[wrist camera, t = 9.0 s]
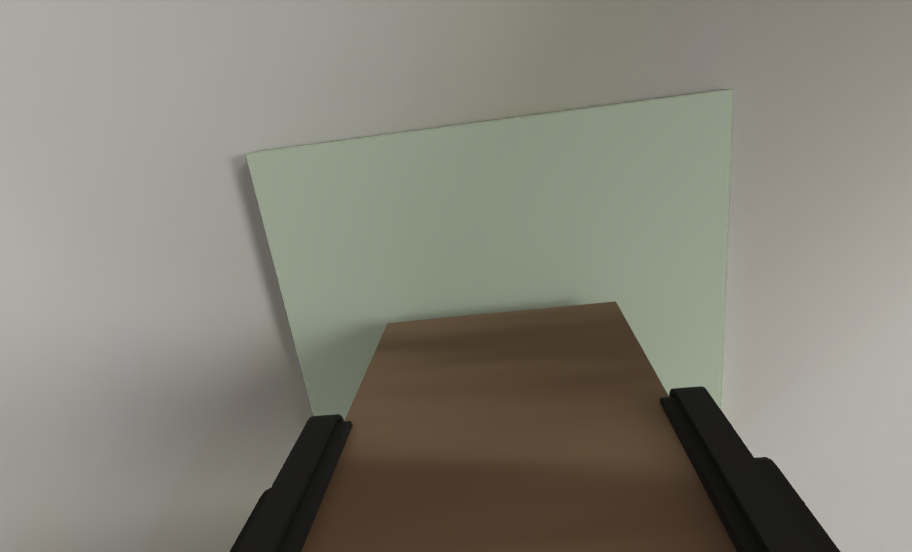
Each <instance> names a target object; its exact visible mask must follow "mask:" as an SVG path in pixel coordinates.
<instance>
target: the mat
mask: <svg viewBox="0 0 912 552" xmlns="http://www.w3.org/2000/svg"><path fill="white" fill-rule="evenodd" d="M732 108H733V89H722V90H715V91H707V92H700V93H692V94H685V95H677V96H670V97H662V98H655V99H647V100H640V101H632V102H625V103H617V104H610V105H602V106H595V107H587V108H579V109H572V110H564V111H557V112H549V113H542V114H534V115H527V116H519V117H512V118H504V119H497V120H489V121H482V122H474V123H467V124H459V125H452V126H444V127H437V128H429V129H422V130H414V131H406V132H399V133H391V134H384V135H376V136H369V137H361V138H354V139H346V140H339V141H331V142H324V143H316V144H309V145H301V146H294V147H286V148H279V149H271V150H264V151H256V152H251V153H248V154H245V155H246V159H247V163H248V166H249V170H250V174H251V178H252V182H253V186H254V190H255V193H256V197H257V201H258V205H259V209H260V213H261V217H262V221H263V224H264V228H265V232H266V236H267V240H268V244H269V248H270V252H271V255H272V259H273V263H274V267H275V271H276V275H277V279H278V282H279V286H280V290H281V294H282V298H283V302H284V306H285V310H286V313H287V317H288V321H289V325H290V329H291V333H292V337H293V341H294V344H295V348H296V352H297V356H298V360H299V364H300V368H301V371H302V375H303V379H304V383H305V387H306V391H307V395H308V399H309V402H310V406H311V410H312V414H313V416H321V415H334V414H340V415H341V416H342V417H343V419H344V420H345V418H346V416H347V414H348V411H349V409H350V407H351V405H352V402H353V400H354V398H355V396H356V393H357V391H358V389H359V386H360V384H361V382H362V380H363V377H364V375H365V373H366V371H367V368H368V366H369V364H370V362H371V359H372V357H373V355H374V353H375V350H376V348H377V346H378V343H379V341H380V339H381V337H382V334H383V332H384V330H385V328H386V325H387V323H396V322H406V321H416V320H427V319H437V318H448V317H458V316H468V315H479V314H489V313H500V312H510V311H520V310H531V309H541V308H552V307H562V306H572V305H583V304H593V303H604V302H614V301H616V303H617V304H618V306H619V308H620V310H621V311H622V313H623V315H624V317H625V319H626V320H627V322H628V324H629V326H630V328H631V329H632V331H633V333H634V335H635V337H636V338H637V340H638V342H639V344H640V345H641V347H642V349H643V351H644V353H645V354H646V356H647V358H648V360H649V362H650V363H651V365H652V367H653V369H654V370H655V372H656V374H657V376H658V378H659V379H660V381H661V383H662V385H663V387H664V388H665V390H666V392H667V394H668V396H669V393H670V390H671V389H672V388H686V387H699V386H703V387H705V388H706V389H707V391H708V392H709V394H710V395H711V397H712V398H713V399H714V401H715V402H716V404H717V405H718V407H719V408H720V410H721V401H722V374H723V347H724V321H725V294H726V268H727V241H728V214H729V188H730V161H731V135H732Z"/></svg>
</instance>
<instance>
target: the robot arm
mask: <svg viewBox="0 0 912 552" xmlns="http://www.w3.org/2000/svg"><path fill="white" fill-rule="evenodd" d="M660 404H661V406H662V408H663V410H664V412H665V413H666V415H667V417H668V419H669V421H670V423H671V425H672V427H673V429H674V431H675V433H676V435H677V437H678V439H679V441H680V442H681V444H682V446H683V448H684V450H685V452H686V454H687V456H688V458H689V460H690V462H691V464H692V466H693V468H694V469H695V471H696V473H697V475H698V477H699V479H700V481H701V483H702V485H703V487H704V489H705V491H706V493H707V495H708V497H709V498H710V500H711V502H712V504H713V506H714V508H715V510H716V512H717V514H718V516H719V518H720V520H721V522H722V524H723V525H724V527H725V529H726V531H727V533H728V535H729V537H730V539H731V541H732V543H733V545H734V547H735V549H736V551H737V552H840V551H839V549H838V548H837V547H836V545H835V544H834V543H833V541H832V540H831V539H830V537H829V536H828V534H827V533H826V532H825V530H824V529H823V528H822V526H821V525H820V524H819V522H818V521H817V520H816V518H815V517H814V516H813V514H812V513H811V511H810V510H809V509H808V507H807V506H806V505H805V503H804V502H803V501H802V499H801V498H800V497H799V495H798V494H797V492H796V491H795V490H794V488H793V487H792V486H791V484H790V483H789V482H788V480H787V479H786V478H785V476H784V475H783V473H782V472H781V471H780V469H779V468H778V467H777V466H776V464H775V463H774V462H773V461H772V460H771V459H768V458H766V457H761V458H754V457H753V456H752V454H751V453H750V451H749V450H748V449H747V447H746V446H745V444H744V443H743V441H742V440H741V438H740V437H739V436H738V434H737V433H736V431H735V430H734V428H733V427H732V425H731V424H730V423H729V421H728V420H727V418H726V417H725V415H724V414H723V412H722V411H721V410H720V408H719V407H718V405H717V404H716V402H715V401H714V399H713V398H712V397H711V395H710V394H709V392H708V391H707V389H706V388H705V387H703V386H699V387H686V388H672V389H671V390H670V393H669V397H661V398H660ZM352 426H353V424H352V422H351V421H344V419H343V417H342V416H341V415H340V414H334V415H321V416H312V417H310V418H309V420H308V421H307V423H306V425H305V427H304V429H303V431H302V432H301V434H300V436H299V438H298V440H297V441H296V443H295V445H294V447H293V449H292V451H291V452H290V454H289V456H288V458H287V460H286V462H285V463H284V465H283V467H282V469H281V471H280V473H279V474H278V476H277V478H276V480H275V482H274V483H273V485H272V487H271V488H269V489H268V490H266V491H265V492H264V493H263V494H262V496H261V497H260V499H259V501H258V502H257V504H256V506H255V508H254V510H253V511H252V513H251V515H250V517H249V518H248V520H247V522H246V524H245V526H244V527H243V529H242V531H241V533H240V534H239V536H238V538H237V540H236V542H235V543H234V545H233V547H232V549H231V550H230V552H301V551H302V548H303V546H304V544H305V541H306V539H307V536H308V534H309V531H310V529H311V526H312V524H313V522H314V519H315V517H316V514H317V512H318V509H319V507H320V505H321V502H322V500H323V497H324V495H325V492H326V490H327V487H328V485H329V483H330V480H331V478H332V475H333V473H334V470H335V468H336V465H337V463H338V461H339V458H340V456H341V453H342V451H343V448H344V446H345V443H346V441H347V439H348V436H349V434H350V431H351V429H352Z"/></svg>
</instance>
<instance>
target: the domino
mask: <svg viewBox="0 0 912 552" xmlns="http://www.w3.org/2000/svg"><path fill="white" fill-rule="evenodd" d="M661 397H669V396H668V394H667V392H666V390H665V388H664V387H663V385H662V383H661V381H660V379H659V378H658V376H657V374H656V372H655V370H654V369H653V367H652V365H651V363H650V362H649V360H648V358H647V356H646V354H645V353H644V351H643V349H642V347H641V345H640V344H639V342H638V340H637V338H636V337H635V335H634V333H633V331H632V329H631V328H630V326H629V324H628V322H627V320H626V319H625V317H624V315H623V313H622V311H621V310H620V308H619V306H618V304H617V303H616V301H614V302H604V303H593V304H583V305H572V306H562V307H552V308H541V309H531V310H520V311H510V312H500V313H489V314H479V315H468V316H458V317H448V318H437V319H427V320H416V321H406V322H396V323H387V325H386V328H385V330H384V332H383V334H382V337H381V339H380V341H379V343H378V346H377V348H376V350H375V353H374V355H373V357H372V359H371V362H370V364H369V366H368V368H367V371H366V373H365V375H364V377H363V380H362V382H361V384H360V386H359V389H358V391H357V393H356V396H355V398H354V400H353V402H352V405H351V407H350V409H349V411H348V414H347V416H346V418H345V420H344V421H351V422H352V424H353V426H352V429H351V431H350V434H349V436H348V439H347V441H346V443H345V446H344V448H343V451H342V453H341V456H340V458H339V461H338V463H337V465H336V468H335V470H334V473H333V475H332V478H331V480H330V483H329V485H328V487H327V490H326V492H325V495H324V497H323V500H322V502H321V505H320V507H319V509H318V512H317V514H316V517H315V519H314V522H313V524H312V526H311V529H310V531H309V534H308V536H307V539H306V541H305V544H304V546H303V548H302V551H301V552H737V551H736V549H735V547H734V545H733V543H732V541H731V539H730V537H729V535H728V533H727V531H726V529H725V527H724V525H723V524H722V522H721V520H720V518H719V516H718V514H717V512H716V510H715V508H714V506H713V504H712V502H711V500H710V498H709V497H708V495H707V493H706V491H705V489H704V487H703V485H702V483H701V481H700V479H699V477H698V475H697V473H696V471H695V469H694V468H693V466H692V464H691V462H690V460H689V458H688V456H687V454H686V452H685V450H684V448H683V446H682V444H681V442H680V441H679V439H678V437H677V435H676V433H675V431H674V429H673V427H672V425H671V423H670V421H669V419H668V417H667V415H666V413H665V412H664V410H663V408H662V406H661V404H660V398H661Z"/></svg>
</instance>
